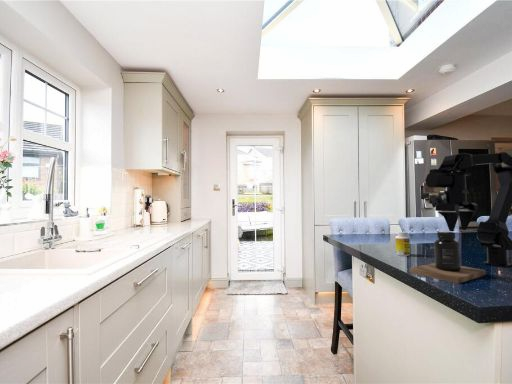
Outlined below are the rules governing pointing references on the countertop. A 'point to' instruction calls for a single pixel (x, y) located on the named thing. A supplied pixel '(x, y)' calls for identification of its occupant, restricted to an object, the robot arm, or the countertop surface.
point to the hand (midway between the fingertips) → (457, 230)
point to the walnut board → (448, 273)
